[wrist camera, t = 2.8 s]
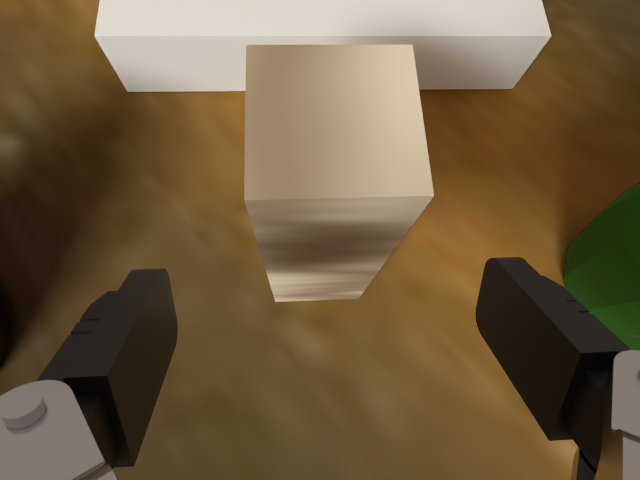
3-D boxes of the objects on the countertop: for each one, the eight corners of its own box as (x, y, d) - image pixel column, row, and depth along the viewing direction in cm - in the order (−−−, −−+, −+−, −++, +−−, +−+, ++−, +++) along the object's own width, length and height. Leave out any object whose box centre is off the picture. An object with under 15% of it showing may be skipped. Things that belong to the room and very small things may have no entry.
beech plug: (352, 221, 22) (412, 44, 10) (358, 298, 20) (434, 195, 9) (274, 223, 21) (246, 44, 10) (275, 301, 20) (244, 200, 9)
